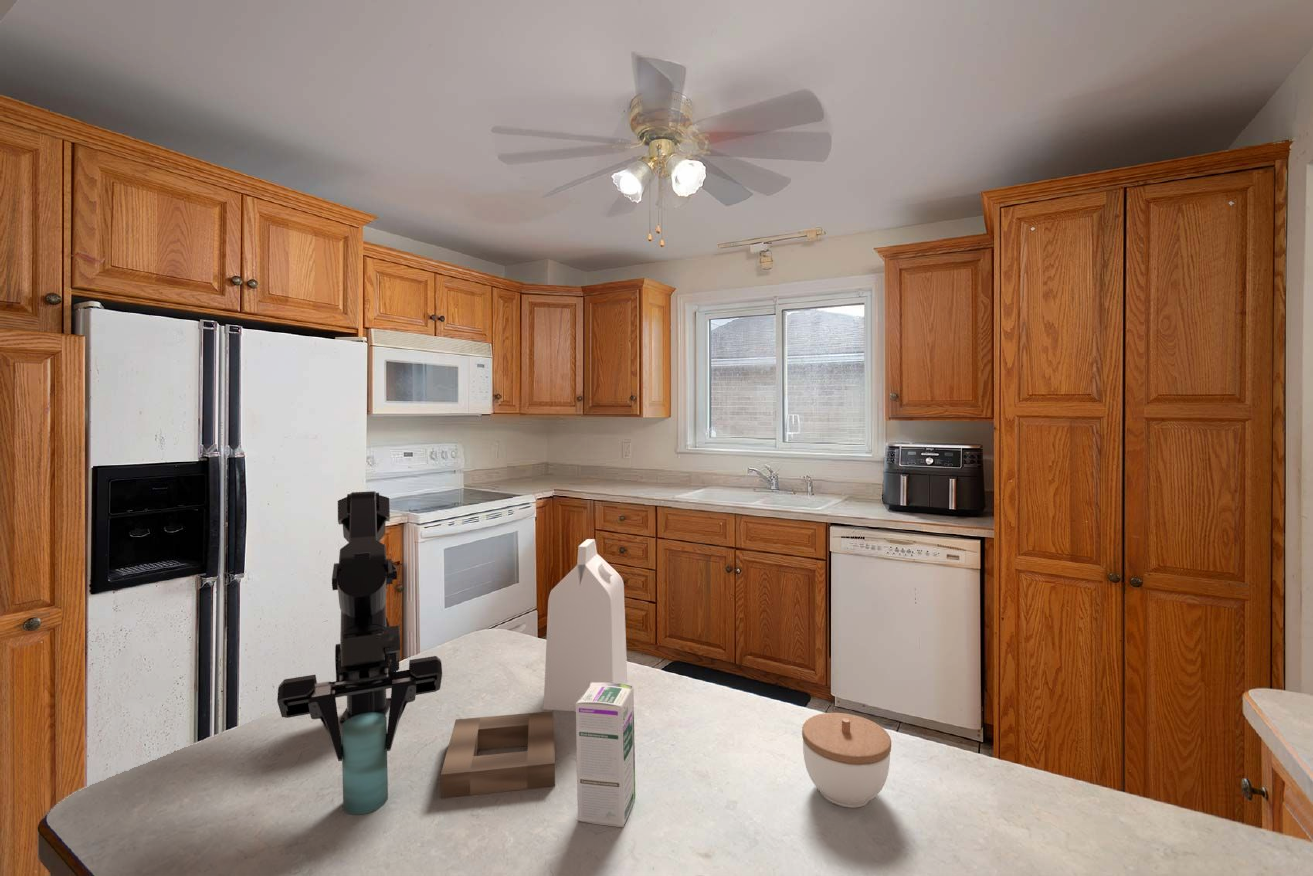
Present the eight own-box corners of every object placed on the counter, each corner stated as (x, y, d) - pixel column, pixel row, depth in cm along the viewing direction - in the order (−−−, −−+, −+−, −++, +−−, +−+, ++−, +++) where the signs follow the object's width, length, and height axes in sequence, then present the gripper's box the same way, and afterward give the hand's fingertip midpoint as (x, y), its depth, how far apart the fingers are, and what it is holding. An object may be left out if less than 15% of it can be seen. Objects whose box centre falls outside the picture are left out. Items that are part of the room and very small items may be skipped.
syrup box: (624, 829, 72) (624, 705, 71) (575, 822, 73) (575, 700, 72) (635, 798, 77) (635, 684, 77) (590, 792, 79) (590, 680, 78)
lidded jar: (889, 777, 82) (890, 707, 82) (891, 829, 72) (892, 749, 71) (805, 762, 86) (806, 695, 85) (796, 809, 75) (797, 733, 75)
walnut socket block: (456, 739, 91) (455, 719, 91) (552, 730, 94) (552, 711, 94) (441, 798, 77) (440, 774, 77) (555, 785, 80) (554, 763, 80)
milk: (564, 677, 112) (563, 534, 111) (627, 681, 111) (627, 536, 110) (543, 709, 100) (542, 549, 99) (613, 714, 99) (613, 552, 98)
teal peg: (350, 791, 79) (348, 714, 78) (392, 787, 80) (390, 710, 79) (337, 817, 74) (335, 734, 73) (382, 812, 75) (380, 730, 74)
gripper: (277, 615, 75) (265, 749, 66) (439, 596, 83) (450, 714, 74) (286, 656, 83) (277, 781, 73) (435, 635, 91) (444, 746, 81)
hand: (364, 754), depth 75 cm, fingers closed on teal peg, 5 cm apart
